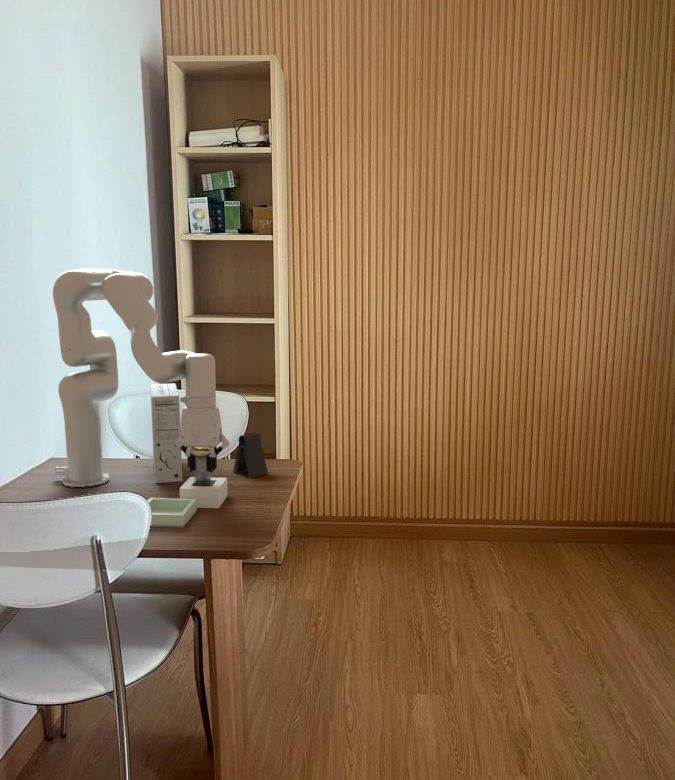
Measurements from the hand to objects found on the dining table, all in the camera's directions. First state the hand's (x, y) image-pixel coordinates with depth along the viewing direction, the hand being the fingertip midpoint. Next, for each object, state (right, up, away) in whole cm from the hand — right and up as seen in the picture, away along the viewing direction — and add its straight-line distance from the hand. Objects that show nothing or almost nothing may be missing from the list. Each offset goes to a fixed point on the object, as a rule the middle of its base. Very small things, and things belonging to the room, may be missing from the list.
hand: (202, 470), depth 188 cm
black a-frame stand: (+9, -4, +26) cm, 28 cm away
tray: (-7, -11, -11) cm, 17 cm away
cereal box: (-16, -4, +28) cm, 32 cm away
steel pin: (0, -5, +1) cm, 5 cm away
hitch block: (0, -8, +1) cm, 8 cm away
